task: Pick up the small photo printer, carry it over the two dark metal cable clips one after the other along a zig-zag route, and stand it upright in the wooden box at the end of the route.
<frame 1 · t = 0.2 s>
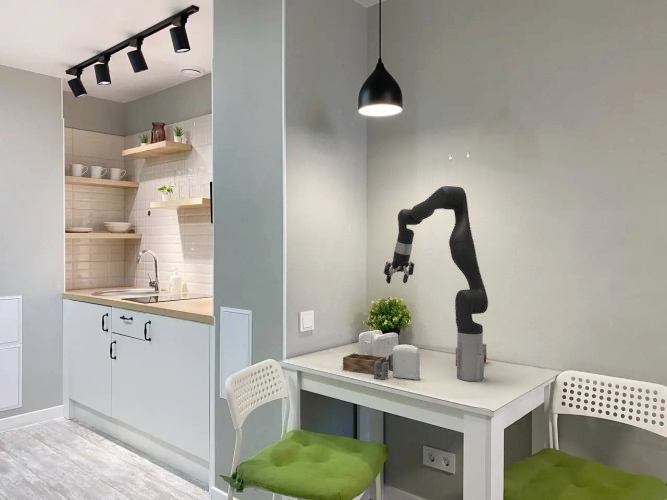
hand: (396, 282, 250), 31 cm above the table, tool tilted 20°, fingers open, 8 cm apart
wooden box: (364, 369, 210), on the table
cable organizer: (378, 359, 229), on the table
medicine box: (471, 365, 221), on the table
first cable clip: (394, 369, 210), on the table
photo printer: (406, 378, 199), on the table
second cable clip: (381, 377, 198), on the table
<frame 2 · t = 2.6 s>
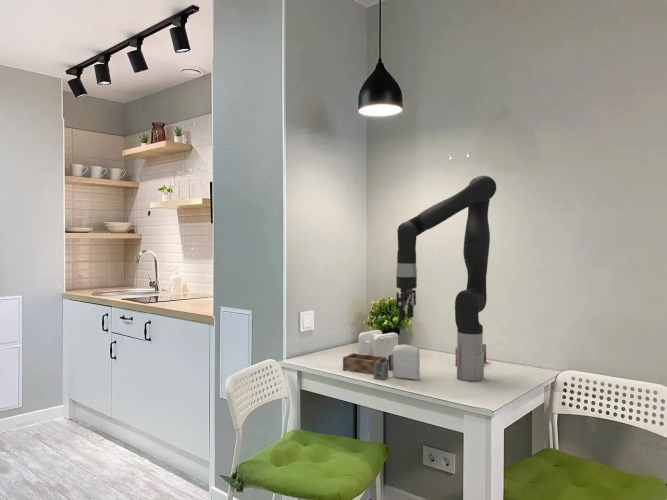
hand: (406, 318, 199), 22 cm above the table, tool pointing down, fingers open, 8 cm apart
nothing on the table moved.
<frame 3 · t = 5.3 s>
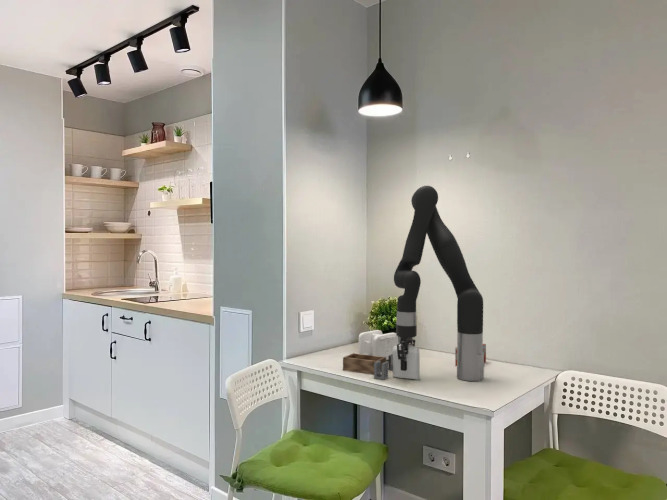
hand: (406, 368, 199), 3 cm above the table, tool pointing down, fingers closed on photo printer, 4 cm apart
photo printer: (406, 378, 199), on the table, touching gripper
everything else where it was.
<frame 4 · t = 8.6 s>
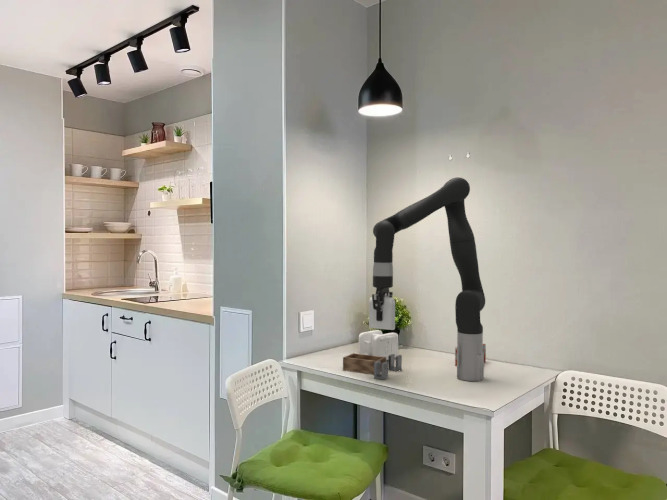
hand: (382, 319, 199), 22 cm above the table, tool pointing down, fingers closed on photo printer, 4 cm apart
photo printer: (381, 329, 199), point 18 cm above the table, touching gripper
everything else where it was.
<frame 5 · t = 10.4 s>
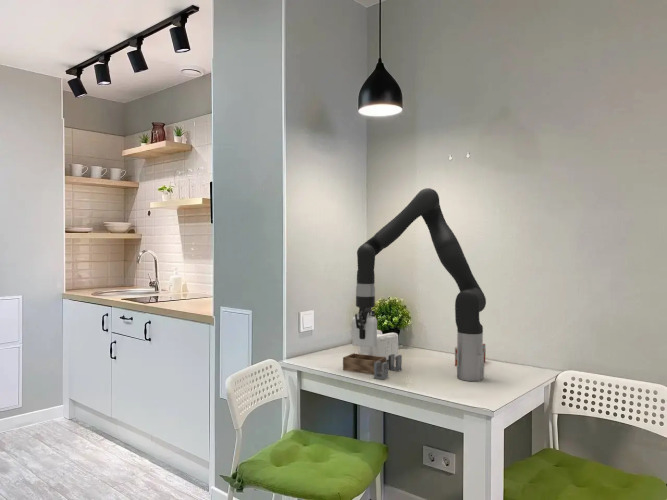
hand: (365, 337, 210), 13 cm above the table, tool pointing down, fingers closed on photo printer, 4 cm apart
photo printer: (364, 346, 210), point 9 cm above the table, touching gripper
everything else where it was.
when the fingers open (6 cm above the table, at t = 12.1 s): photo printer drops 2 cm, resting on wooden box.
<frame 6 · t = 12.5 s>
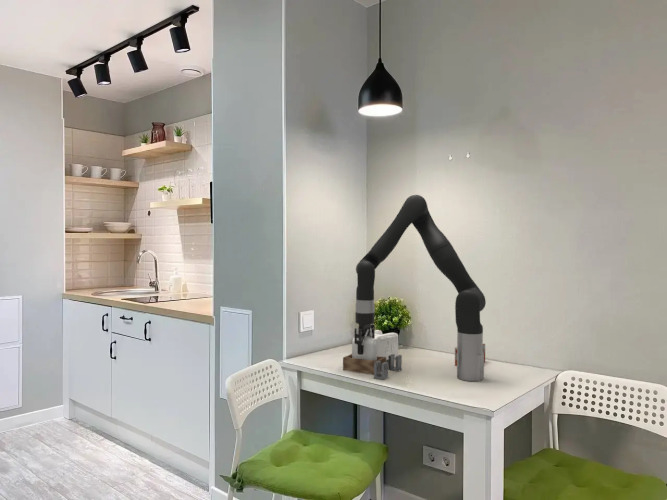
hand: (364, 352, 210), 7 cm above the table, tool pointing down, fingers open, 7 cm apart
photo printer: (364, 367, 210), point 1 cm above the table, touching wooden box
everything else where it was.
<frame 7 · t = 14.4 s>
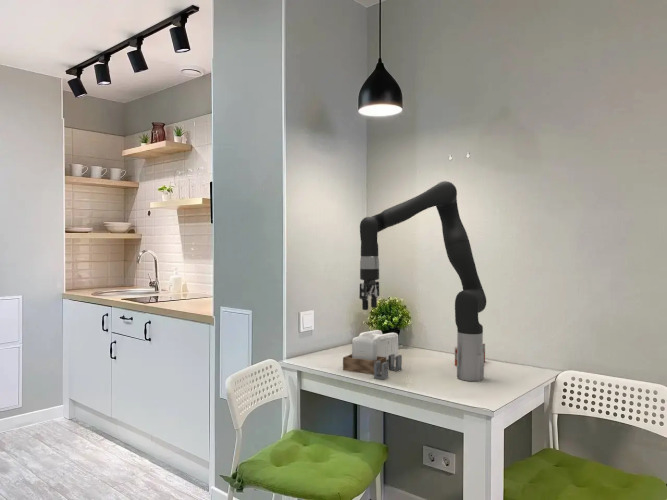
hand: (369, 308, 210), 24 cm above the table, tool pointing down, fingers open, 8 cm apart
nothing on the table moved.
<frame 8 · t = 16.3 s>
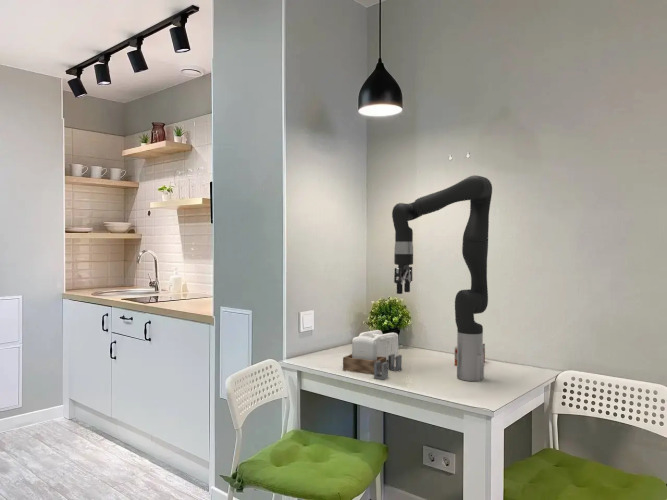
hand: (403, 292, 215), 30 cm above the table, tool pointing down, fingers open, 8 cm apart
at the end: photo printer 0.1 cm off-centre on the wooden box, point 0.8 cm above the wooden box's base; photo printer tilted 0°; the gripper is holding nothing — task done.
